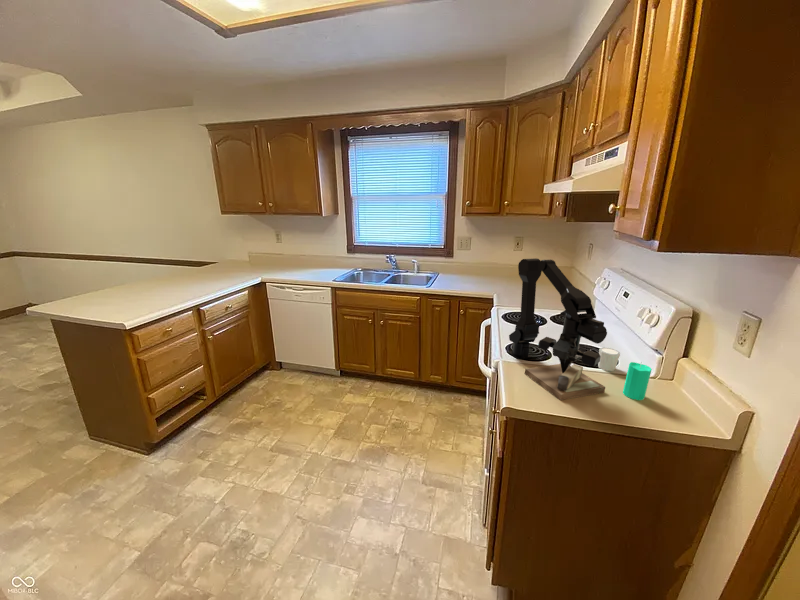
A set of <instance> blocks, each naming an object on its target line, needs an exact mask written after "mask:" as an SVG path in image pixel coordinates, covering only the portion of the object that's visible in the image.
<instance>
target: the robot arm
mask: <svg viewBox="0 0 800 600" xmlns="http://www.w3.org/2000/svg"><path fill="white" fill-rule="evenodd" d="M517 266H518V267H517V268H518V276H519V278H520V280H521V281H522V282H521V284H522V285H521V286H522V287H521V302H520V317H519V319H518V321H517V322H516V324H515V328H514V331H513V332H512V333H510V334H509V335H508V337H509V338H508V339H509V341H510V342H512V349H511V350H510V351H508V354H509V355H511V356H513V357H514V358H515V359H517V360H521V359H522V360H523V359H529V358H532V356H531V355H530V345H531V344H530V343H534V342H535V341H536V338H538V336H539V334H540V324H539V323H538V322H537V321H536V319H535V308H536V290H537V282H538V280H539V279H540V277H541V276H542V273H543V274H544V275H545V277H546V278H547V279H548V281H549V282H550V284H551V285H553V287H554V289H555V290H556V291H557V293H558V294H559V296H560V302H561V304H562V306H563V307H564V309H565V310H563V311H560V315H561V316H564V320H563V321H564V322H563V328H562V332H561V333H560V334H559V338H558V340H557V339H556V338H555V339H554V338H552V337H549V336H546V337H543V338H541V339H540V340H539V341H538V344H537V347H538V348H539V349H542V350H544V351H547V350H549V349H550V348H551V349H552V356H554V357H557V359H558V360H559V362H560V363H559V364H561V369H562V373H564V372H565V371H566V370H567V369H568V368H569V366H572V365H573V364H572V363H575V362H577V361H578V360H579V359H580V358H581V362H582V363H583V364H585V365H587V366H590V367H595V366H597V365H598V363H599V362H600V358H601V356H600V354H599V352H595V351H592V350H589V349H588V350H587V351H585V352H583V351H581V350H579V349H580V347H581V345H580V342H581V338H584V339H585V340H587V341H591V342H592V343H594V344H601V343H602V342H603V341H604V340H605V339H606V337H607V335H608V331H607V327H605V326H604V325H605V322H604V321H602V320H597V319H596V318H597V315H596V312H595V310H594V307H593V305H592V300H591V298H590V297H589V296H588V295H587V294H586V293H585V292H584V291H583V290H582V289H579V288H577V287H576V286H574V285H573V284H572V282H571V281H570V280H569V279H568V278H567V276H566V275H565V274H564V273H563V271H562V270H561V269H560V268H559V267H558V266H557V263H556V261H555V260H553V259H539V258H537V257H536V258H522V259H521V260H520V261H519V262H518V265H517Z"/></svg>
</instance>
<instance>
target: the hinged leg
mask: <svg viewBox="0 0 800 600" xmlns="http://www.w3.org/2000/svg"><path fill="white" fill-rule="evenodd" d="M570 366H571V367H570V368H569V369H568V370H566V371H565V372H564V373H563V374H562V375H560V376H559V380H558V386H557V388H558V389H560V390H567V389H568V388H569V387H570V386H571V385H573V384H574V383H575V382H576V381H577V380H578V379H579V378H580V377H581V376H582V373H583V369H584V366H581V365H578V364H576V363H574V364H571V365H570Z"/></svg>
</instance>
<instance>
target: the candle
mask: <svg viewBox="0 0 800 600" xmlns="http://www.w3.org/2000/svg"><path fill="white" fill-rule="evenodd" d="M651 374H652V368H651V367H650V366H648V365H647V364H642V361H641V362H634V361H631V362H629V364H628V367H627V373H626V376H625V380H624V385H623V391H622V394H623V395H624V396H626V398H629V399H631V400H634V401H635V399H636V401H643V400H644V399H645V398H646V393H647V389H648V385H649V381H650V377H651Z"/></svg>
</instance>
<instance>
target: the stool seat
mask: <svg viewBox="0 0 800 600" xmlns="http://www.w3.org/2000/svg"><path fill="white" fill-rule="evenodd" d="M571 366H572V365H570V366H569V368H570V367H571ZM569 368H568V369H569ZM568 369H567V370H568ZM562 374H563V373H562V369H561V364H560V363H557V364H556V363H555V364H548V365H543V366H534V367H529V368H528V367H527V368H525V369H524V375H526V376H527V375H528V376H529V377H528V376H527V377H528V378H530V379H531V378H532V379H533V382H535V381H536V382H537V383H536V382H535V383H536V384H538V386H540V385H541V386H540V387H542V388H543V389H544V388H545V390H546V391H547V392H548V391H549V392H548V393H550V394H551V395H553V396H554V397H555V398H557V399H558V400H559V401H564V400H569V399H573V398H579V397H580V398H581V397H586V396H590V395H597V394H602V393H605V390H606V386H605V385H603V384H602V383H599V382H598V381H597V380H595V379H593V378H591V377H589V376H588V375H586V374H585V373H583V372H582V376H581V377H580V378H579V379H578V380H577V381H576V382H575V383H574V384H573V385H571V386H570V387H569V388H568V389H567V390H560V389H558V388H557V386H558V380H559V376H560V375H562ZM532 379H531V380H532Z"/></svg>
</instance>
